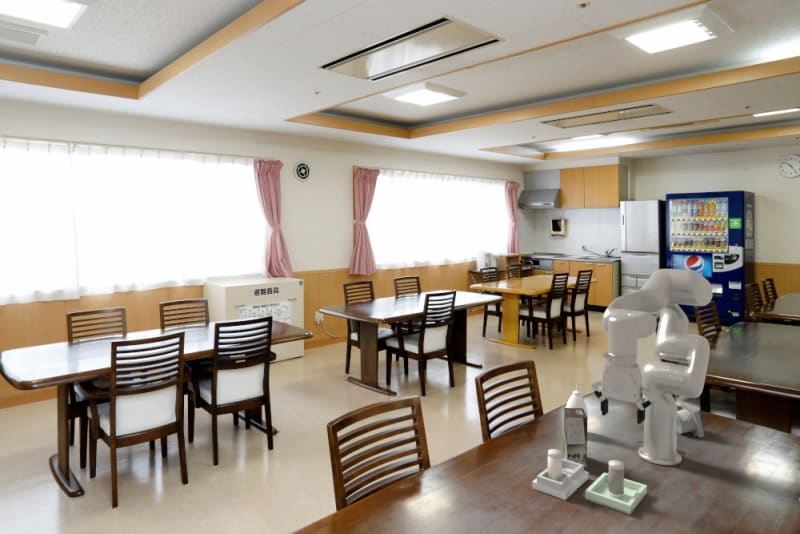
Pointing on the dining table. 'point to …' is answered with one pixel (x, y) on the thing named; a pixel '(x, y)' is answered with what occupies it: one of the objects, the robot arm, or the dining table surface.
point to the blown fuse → (616, 479)
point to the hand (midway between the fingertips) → (622, 418)
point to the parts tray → (626, 504)
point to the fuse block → (560, 476)
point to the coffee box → (575, 435)
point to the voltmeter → (689, 420)
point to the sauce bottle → (577, 401)
